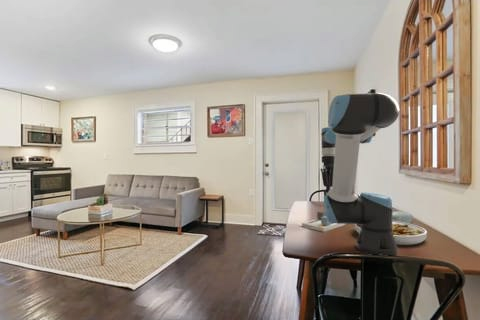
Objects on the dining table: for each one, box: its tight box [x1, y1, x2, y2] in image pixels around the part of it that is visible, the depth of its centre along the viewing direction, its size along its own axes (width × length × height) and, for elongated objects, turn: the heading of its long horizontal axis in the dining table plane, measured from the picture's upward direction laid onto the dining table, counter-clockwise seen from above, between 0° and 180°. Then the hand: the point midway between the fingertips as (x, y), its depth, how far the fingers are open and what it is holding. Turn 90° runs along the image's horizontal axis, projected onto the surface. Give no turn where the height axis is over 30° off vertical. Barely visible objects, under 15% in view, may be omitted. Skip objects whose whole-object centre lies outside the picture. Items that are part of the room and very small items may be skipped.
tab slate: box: [321, 216, 331, 226], centre depth 139 cm, size 4×4×4 cm
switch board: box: [301, 218, 346, 233], centre depth 146 cm, size 22×14×2 cm, turn 129°
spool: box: [392, 210, 414, 224], centre depth 143 cm, size 14×10×10 cm
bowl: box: [354, 221, 428, 246], centre depth 125 cm, size 30×30×8 cm
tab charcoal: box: [316, 210, 326, 219], centre depth 152 cm, size 4×4×4 cm
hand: (329, 198), depth 141 cm, fingers closed
